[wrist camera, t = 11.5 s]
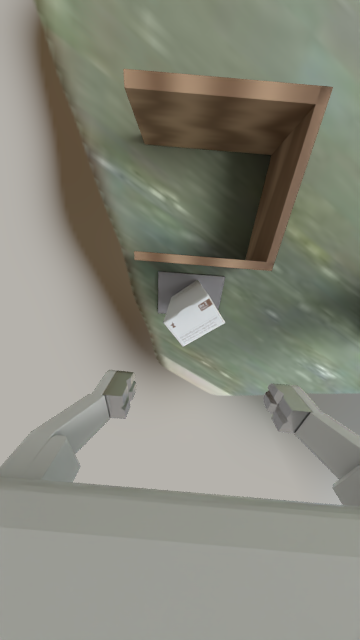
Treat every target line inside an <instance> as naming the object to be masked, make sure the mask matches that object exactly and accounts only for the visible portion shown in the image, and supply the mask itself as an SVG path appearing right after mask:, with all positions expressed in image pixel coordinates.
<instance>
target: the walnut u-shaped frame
mask: <svg viewBox="0 0 360 640" xmlns="http://www.w3.org/2000/svg"><path fill="white" fill-rule="evenodd" d="M124 86H125V90H126V93H127V96H128V99H129V101H130V104H131V107H132V110H133V113H134V115H135V118H136V121H137V124H138V126H139V129H140V132H141V135H142V138H143V140H144V143H145V144H147V145H159V146H170V147H182V148H194V149H206V150H218V151H230V152H242V153H253V154H265V155H271V159H270V163H269V167H268V171H267V175H266V179H265V183H264V187H263V191H262V195H261V199H260V203H259V207H258V211H257V215H256V219H255V223H254V227H253V231H252V235H251V239H250V243H249V247H248V251H247V255H246V259H245V260H237V259H225V258H213V257H200V256H188V255H176V254H163V253H151V252H137V251H134V256H135V260H143V261H155V262H168V263H180V264H193V265H205V266H217V267H230V268H242V269H254V270H267V271H272V268H273V265H274V262H275V259H276V256H277V253H278V250H279V247H280V244H281V241H282V238H283V235H284V232H285V229H286V226H287V223H288V220H289V217H290V214H291V211H292V208H293V206H294V203H295V200H296V197H297V194H298V191H299V188H300V185H301V182H302V179H303V176H304V173H305V170H306V167H307V164H308V161H309V158H310V155H311V152H312V149H313V146H314V143H315V140H316V137H317V134H318V131H319V128H320V125H321V122H322V119H323V116H324V113H325V110H326V107H327V104H328V101H329V98H330V95H331V92H332V89H333V87H328V86H316V85H304V84H293V83H281V82H270V81H258V80H247V79H235V78H224V77H212V76H200V75H189V74H177V73H166V72H154V71H143V70H131V69H124Z"/></svg>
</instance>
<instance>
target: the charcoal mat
mask: <svg viewBox="0 0 360 640" xmlns="http://www.w3.org/2000/svg"><path fill="white" fill-rule="evenodd" d="M196 280H198V281H199V282H200V284H201V285H202V287H203V288H204V289H205V291H206V292H207V294H208V295H209V296H210V298H211V300H212V301H213V303H214V305H215V306H216V308H217V310H219V305H220V300H221V295H222V290H223V285H224V280H225V277H223V276H210V275H198V274H185V273H173V272H161V271H159V272H158V313H165V314H166V312H167V310H168V306H169V303H170V300H171V297H172V296H174V295H175V294H177V293H178V292H180V291H181V290H183V289H184V288H186V287H187V286H189V285H190V284H192V283H193V282H195V281H196Z"/></svg>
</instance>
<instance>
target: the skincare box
mask: <svg viewBox="0 0 360 640" xmlns="http://www.w3.org/2000/svg"><path fill="white" fill-rule="evenodd" d="M163 323H164V324H165V325H166V327H167V328H168V329H169V330H170V331H171V333H172V334H173V335H174V336H175V338H176V339H177V340H178V341H179V342H180V344H181V345H182V346H185V345H187V344H189V343H190V342H192V341H194V340H196V339H198V338H199V337H201V336H203V335H205V334H206V333H208V332H210V331H212V330H213V329H215V328H217V327H219V326H221V325H222V324H224V323H225V321H224V319H223V318H222V316H221V315H220V313H219V311H218V310H217V308H216V306H215V305H214V303H213V301H212V300H211V298H210V296H209V295H208V294H207V292H206V291H205V289H204V288H203V287H202V285H201V284H200V282H199V281H198V280H196V281H195V282H193V283H192V284H190V285H189V286H187V287H186V288H184V289H183V290H181V291H180V292H178V293H177V294H175V295H174V296H172V297H171V300H170V303H169V306H168V310H167V312H166V315H165V319H164V322H163Z"/></svg>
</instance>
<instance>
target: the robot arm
mask: <svg viewBox="0 0 360 640" xmlns="http://www.w3.org/2000/svg"><path fill="white" fill-rule="evenodd" d="M134 379H135V373H133V372H125V371H115V370H108V371H107V372H106V374H105V375H104V376H103V378H102V380H101V381H100V383H99V384H98V385H97V387H96V388H95V390H94V391H93V393H92V394H88V395H87V396H85V397H84V398H82V399H81V400H79V401H77V402H76V403H74V404H73V405H71V406H70V407H68V408H67V409H65V410H64V411H62V412H61V413H59V414H58V415H56V416H54V417H53V418H51V419H50V420H48V421H47V422H45V423H44V424H42V425H41V426H39V427H38V428H36V429H35V430H33V431H31V433H30V434H29V435H28V436H27V437H26V438H25V439H24V440H23V442H22V443H21V444H20V445H19V446H18V447H17V449H16V450H15V451H14V452H13V453H12V454H11V455H10V456H9V458H8V459H7V460H6V461H5V462H4V463H3V465H2V466H1V467H0V640H360V436H359V435H357V434H356V433H354V432H353V431H351V430H350V429H348V428H347V427H345V426H344V425H342V424H341V423H339V422H338V421H336V420H335V419H333V418H332V417H330V416H329V415H327V414H324V413H323V412H322V411H321V410H320V409H319V408H318V407H317V405H316V404H315V403H314V402H313V401H312V400H311V399H310V397H309V396H308V395H307V394H306V393H305V392H304V390H303V389H302V388H301V387H299V386H298V385H285V384H270V385H269V386H268V389H269V391H268V392H266V393H265V395H264V404H265V407H266V409H267V410H268V411H269V412H270V413H271V414H272V420H273V422H274V424H275V426H276V428H277V430H278V431H279V432H288V433H295V435H296V436H297V437H298V438H299V439H300V440H301V441H302V442H303V443H304V444H305V446H306V447H308V449H310V450H311V452H312V453H313V454H314V455H315V456H317V457H318V459H319V460H320V461H321V462H322V463H323V464H324V465H325V466H326V467H327V468H328V469H330V471H331V472H332V473H333V474H334V475H335V476H336V477H337V478H338V479H339V480H338V481H337V482H336V483H334V484H333V490H334V491H335V493H336V495H337V496H338V498H339V499H340V501H341V503H342V504H343V505H334V504H321V503H310V502H298V501H286V500H274V499H263V498H251V497H239V496H227V495H215V494H204V493H191V492H179V491H168V490H156V489H144V488H133V487H120V486H109V485H96V484H85V483H73V481H74V479H75V477H76V474H77V473H78V470H79V468H80V463H79V461H78V460H77V457H76V455H75V454H76V453H77V452H78V451H79V449H81V448H82V447H83V446H84V445H85V444H86V443H87V442H88V441H89V440H90V438H91V437H93V436H94V435H95V434H96V433H97V431H99V430H100V428H102V426H104V424H105V423H106V422H107V421H108V420H109V419H110V418H121V419H122V418H123V419H125V418H126V417H127V414H128V411H129V408H130V401H131V400H132V399H133V397H134V395H135V390H136V382H135V381H134Z"/></svg>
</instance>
